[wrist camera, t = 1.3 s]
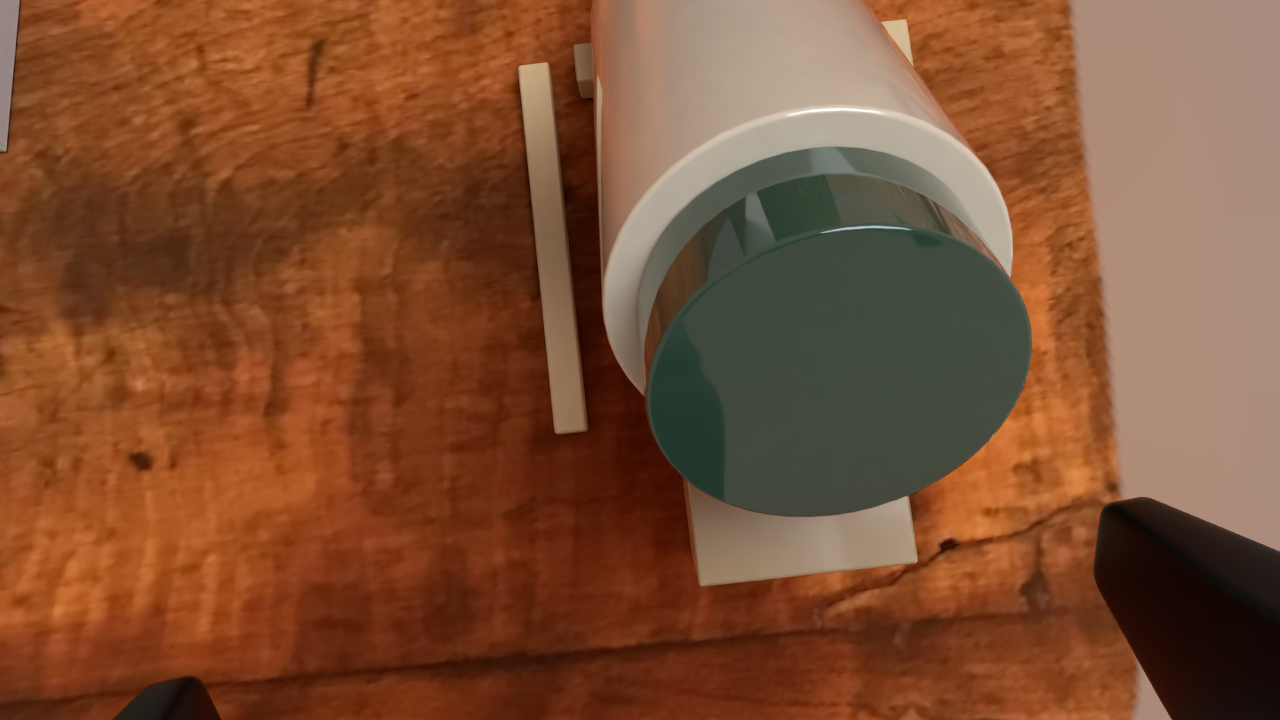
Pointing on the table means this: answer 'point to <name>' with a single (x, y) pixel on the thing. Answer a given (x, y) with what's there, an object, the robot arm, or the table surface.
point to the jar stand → (717, 531)
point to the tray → (7, 62)
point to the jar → (797, 253)
